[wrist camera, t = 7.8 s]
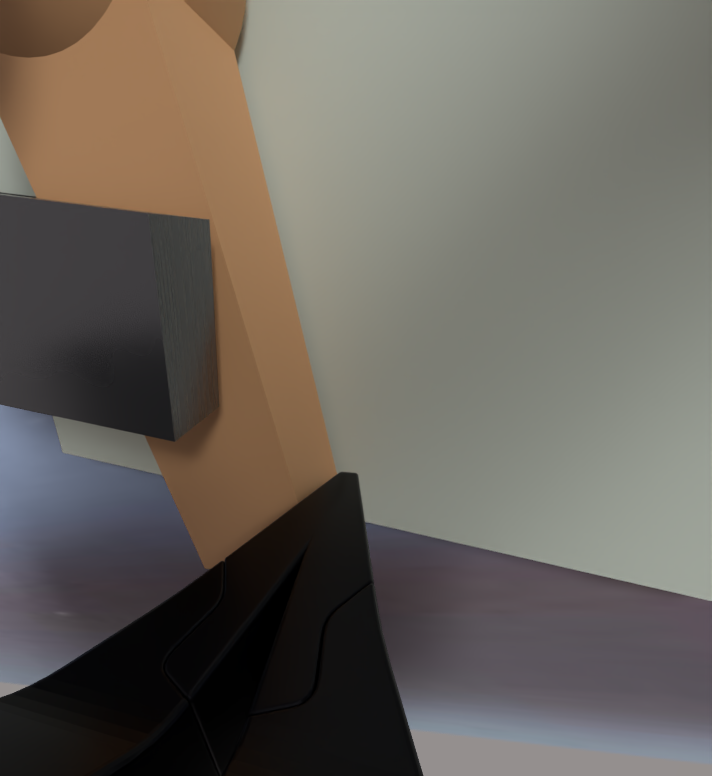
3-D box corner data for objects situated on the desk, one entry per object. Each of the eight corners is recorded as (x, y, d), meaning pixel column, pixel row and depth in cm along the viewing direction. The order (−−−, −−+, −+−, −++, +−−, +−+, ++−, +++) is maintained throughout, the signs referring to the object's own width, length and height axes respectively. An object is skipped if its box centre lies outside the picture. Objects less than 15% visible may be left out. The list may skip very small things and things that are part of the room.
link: (-18, -151, 6) (-282, -385, 4) (196, -297, 5) (7, -736, 3) (231, 501, 11) (181, 568, 9) (366, 497, 10) (348, 572, 8)
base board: (-50, -253, 7) (-166, -373, 6) (1458, -355, 4) (1950, -638, 3) (99, 431, 13) (62, 452, 12) (732, 568, 11) (777, 616, 9)
